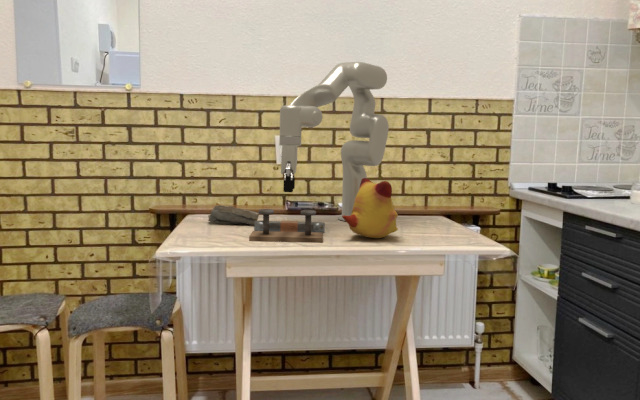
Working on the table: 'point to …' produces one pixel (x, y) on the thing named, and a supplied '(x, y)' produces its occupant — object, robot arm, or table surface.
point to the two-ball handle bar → (289, 226)
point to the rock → (232, 215)
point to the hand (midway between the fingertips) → (289, 190)
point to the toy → (373, 210)
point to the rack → (286, 236)
